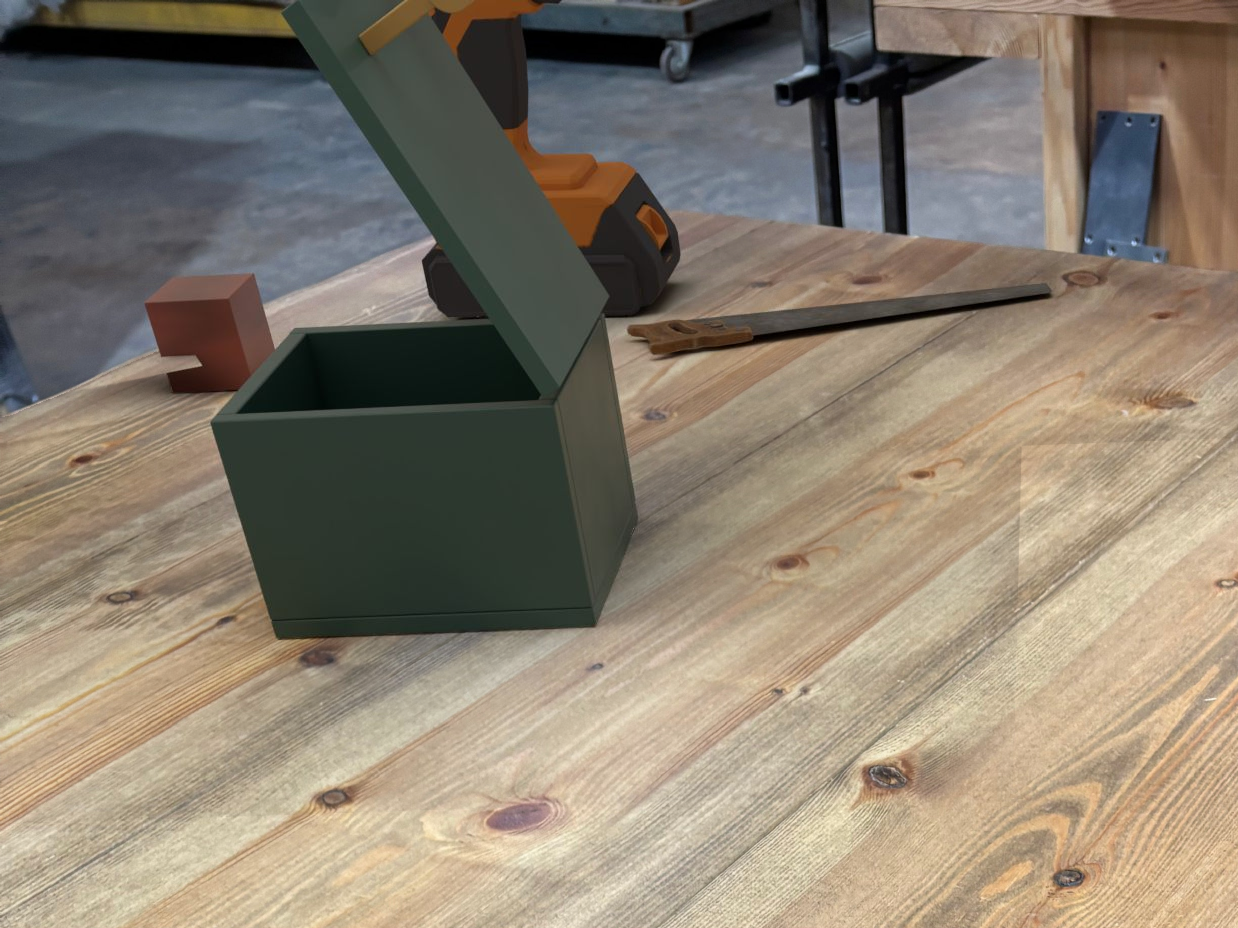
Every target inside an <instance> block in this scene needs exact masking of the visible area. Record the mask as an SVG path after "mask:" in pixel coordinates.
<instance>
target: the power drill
mask: <svg viewBox="0 0 1238 928" xmlns="http://www.w3.org/2000/svg"><path fill="white" fill-rule="evenodd" d="M562 1H563V0H475V1H473V2H472V3H471V4H470V5H469V6H468V7H467V8H465V9H464V10H463V11H461V12H459V13H453V14H451V13H445V12H443V11H441V10H439V9H437V8H436V7H435V8H434V9H433V10H431V11H430V12H429V15H430V16H431V18H432V20H433V21H434V23H435V24H436V26H437V27H438V29H439V31H440V32H441V34H442V35H443V37H444V38H445V40H446V41H447V43H448V45H449V46H450V48H451V49H452V51H453V52H454V54H455V56H456V57H457V59H458V60H459V62H460V63H461V65H462V66H463V68H464V70H465V71H466V73H467V74H468V76H469V77H470V79H471V81H472V82H473V84H474V85H475V87H476V88H477V90H478V91H479V93H480V95H481V96H482V98H483V99H484V101H485V102H486V104H487V106H488V107H489V109H490V110H491V112H492V113H493V115H494V116H495V118H496V120H497V121H498V123H499V124H500V126H501V127H502V129H503V131H504V132H505V134H506V135H507V137H508V138H509V140H510V141H511V143H512V145H513V146H514V148H515V149H516V151H517V152H518V154H519V156H520V157H521V159H522V160H523V162H524V163H525V165H526V166H527V168H528V170H529V171H530V173H531V174H532V176H533V177H534V179H535V181H536V182H537V184H538V185H539V187H540V188H541V190H542V191H543V193H544V195H545V196H546V198H547V199H548V201H549V202H550V204H551V206H552V207H553V209H554V210H555V212H556V213H557V215H558V216H559V218H560V220H561V221H562V223H563V224H564V226H565V227H566V229H567V231H568V232H569V234H570V235H571V237H572V238H573V240H574V241H575V243H576V245H577V246H578V248H579V249H580V251H581V252H582V254H583V256H584V257H585V259H586V260H587V262H588V263H589V265H590V266H591V268H592V270H593V271H594V273H595V274H596V276H597V277H598V279H599V281H600V282H601V284H602V285H603V287H604V288H605V290H606V291H607V293H608V295H609V298H608V300H607V302H606V304H605V305H604V307H603V309H602V311H601V313H604V315H605V317H632V316H633V315H635V314H637V313H638V312H639V311H640V309H641V307H646V306H651V305H652V304H653V303H655V301H656V300H658V298H659V296H660V294H661V293H662V291H663V289H664V288H665V286H666V285H667V283H668V281H669V279H670V278H671V276H672V274H673V273H674V271H675V269H676V268H677V265H678V264H679V263H680V260H681V254H682V252H681V247H680V238H679V232H678V229H677V226H676V224H675V223H674V221H673V220H672V218H671V217H670V215H669V214H668V213H667V211H666V210H665V209H664V207H663V205H662V204H661V202H660V201H659V200H658V199H657V197H656V195H654V193H653V191H652V190H651V188H650V186H648V183H646V181H645V180H644V179H643V177H642V175H641V174H640V173H639V172H638V171H637V170H636V169H635V168H634V167H633V166H631V164H628V163H625V162H623V161H597V159H596V157H594V155H592V154H590V153H540V152H538V151H537V150H536V149H535V148H534V147H533V145H532V144H531V142H530V139H529V134H528V129H529V126H528V125H529V77H528V75H529V74H528V58H527V50H526V44H525V38H524V31H523V25H522V15H526V14H527V15H528V14H529V15H531V14H536V13H538V12H539V11H540V10H541V9H542V8H543V7H544V6H545V5H546V4H552V5H553V4H554V5H559V4H560V3H561V2H562ZM433 239H434V241H435V244H434V245H433V246H432V248H431V249H430V250H428V252H427V253H426V254H425V256H423V258H422V259H421V265H422V270H423V274H424V279H425V280H424V281H425V285H426V289H427V295H428V297H429V298H430V299H431V301H432V302H433V303H434V304H435V305H436V310H438V311H439V312H440V313H441V314H442V315H444V316H445V317H447V318H449V319H450V318H451V317H458V318H482V317H481V316H484V317H483V318H489V317H488V316H487V315H486V313H485V312H484V310H483V309H482V307H481V306H480V304H479V303H478V301H477V300H476V298H475V297H474V295H473V294H472V293H471V291H470V290H469V288H468V287H467V285H466V284H465V282H464V281H463V279H462V278H461V276H460V275H459V274H458V272H457V271H456V269H455V268H454V266H453V265H452V263H451V262H450V260H449V259H448V257H447V256H446V254H445V253H444V252H443V250H442V249H441V247H440V246H439V244H438V243H437V241H436V240H435V238H434V237H433ZM625 315H627V316H625ZM477 316H479V317H477ZM451 319H452V318H451Z"/></svg>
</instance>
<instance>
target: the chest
mask: <svg viewBox="0 0 1238 928" xmlns="http://www.w3.org/2000/svg"><path fill="white" fill-rule="evenodd" d="M606 321H607V320H606V316H605V315H604V313H600V315H599V316H598V318H597V320H596V322H595V324H594V326H593V327H592V329H591V331H590V333H589V335H588V337H587V338H586V340H585V342H584V344H583V346H582V347H581V349H580V351H579V353H578V355H577V357H576V358H575V360H574V362H573V364H572V366H571V368H570V369H569V371H568V373H567V375H566V377H565V379H564V380H563V382H562V384H561V386H560V388H559V389H557V390H556V391H554V392H553V393H551V394H550V395H548V396H546V397H545V398H543V397H542V395H541V394H540V392H539V391H538V389H537V388H536V386H535V385H534V383H533V382H532V380H531V379H530V378H529V376H528V375H527V373H526V372H525V370H524V369H523V367H522V366H521V364H520V363H519V361H518V360H517V358H516V357H515V356H514V354H513V353H512V351H511V350H510V348H509V347H508V345H507V344H506V342H505V341H504V339H503V338H502V337H501V335H500V334H499V332H498V331H497V329H496V328H495V326H494V325H493V323H492V322H491V320H490V319H489V318H474V319H473V318H472V319H454V320H453V319H451V320H433V321H432V320H431V321H413V322H412V321H411V322H389V323H371V324H352V325H351V324H349V325H331V326H329V325H328V326H309V327H306V326H305V327H294V328H293V329H292V330H291V331H290V332H289V333H288V335H286V336H285V338H284V339H283V340H282V341H281V342H280V344H278V345H277V346H276V348H275V350H274V351H273V352H272V354H271V355H270V356H269V357H268V358H267V359H266V360H265V361H264V362H263V364H262V365H261V366H260V367H259V368H258V369H257V370H256V371H255V372H254V373H253V375H252V376H251V377H250V378H249V379H248V380H247V381H246V382H245V383H244V385H243V386H242V387H241V388H240V389H239V390H236V392H235V393H234V394H233V396H231V397H230V399H229V400H228V401H227V402H226V403H225V404H224V406H222V408H220V410H219V411H218V412H217V413H216V415H214V417H213V418H212V419H211V420H210V421H209V424H210V427H211V431H212V434H213V437H214V440H215V443H216V447H217V450H218V453H219V456H220V457H219V458H220V460H221V463H222V468H223V470H224V473H225V476H226V480H227V482H228V486H229V489H230V493H231V495H232V499H233V502H234V506H235V509H236V512H237V515H238V519H239V522H240V526H241V529H242V531H243V536H244V538H245V541H246V545H247V548H248V552H249V555H250V559H251V562H252V565H253V569H254V571H255V574H256V577H257V581H258V585H259V587H260V588H259V589H260V591H261V594H262V597H263V599H264V600H263V601H264V604H265V607H266V610H267V614H268V616H269V619H270V621H271V622H270V623H271V627H272V629H273V633H274V636H275V639H297V638H299V639H300V638H321V637H322V638H323V637H324V638H325V637H326V638H327V637H349V636H371V635H373V636H375V635H399V634H425V633H449V632H452V633H453V632H473V631H474V632H475V631H503V630H527V629H552V628H553V629H554V628H575V627H576V628H578V627H595V626H596V625H597V622H598V620H599V617H600V615H601V614H602V611H603V608H604V605H605V602H606V600H607V597H608V595H609V592H610V590H611V588H612V585H613V583H614V580H615V578H616V576H617V573H618V570H619V568H620V565H621V564H622V560H623V558H624V555H625V553H626V550H627V548H628V545H629V543H628V542H630V540H631V538H630V536H631V537H632V535H631V533H632V530H633V528H634V526H635V527H636V525H637V523H636V521H637V522H638V520H637V518H638V519H639V514H638V507H637V503H636V501H637V500H636V494H635V488H634V483H633V476H632V471H631V465H630V458H629V453H628V448H627V447H628V446H627V441H626V434H625V428H624V423H623V417H622V412H621V404H620V398H619V392H618V387H617V380H616V375H615V368H614V364H613V357H612V356H613V355H612V351H611V345H610V339H609V334H608V333H609V332H608V327H607V322H606ZM635 524H636V525H635ZM634 529H635V528H634ZM633 531H634V530H633ZM632 534H633V533H632ZM626 547H627V548H626Z"/></svg>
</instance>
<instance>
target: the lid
mask: <svg viewBox="0 0 1238 928" xmlns="http://www.w3.org/2000/svg"><path fill="white" fill-rule="evenodd" d="M473 1H475V0H294V1H293V2H292V3H290V4H289V5H287V6H286V7H285V8H284V9H282V10H281V11H280V14H281V16H282V17H283V19H284V20H285V22H286V23H287V24H288V26H289V28H290V29H291V30H292V32H293V33H294V35H295V37H296V38H297V40H298V41H299V42H300V43H301V45H302V47H303V48H304V50H305V51H306V52H307V54H308V55H309V57H310V58H311V59H312V61H313V63H314V65H315V66H316V67H317V69H318V70H319V72H320V73H321V74H322V76H323V78H324V79H325V80H326V81H327V83H328V85H329V86H330V88H331V89H332V90H333V93H335V95H336V96H337V98H338V99H339V101H340V102H341V103H342V105H343V106H344V108H345V110H346V111H347V112H348V114H349V116H350V117H351V118H352V120H353V121H354V123H355V124H356V126H357V127H358V129H359V130H360V132H361V133H362V134H363V136H364V138H365V139H366V140H367V142H368V143H369V145H370V146H371V148H372V149H373V150H374V152H375V153H376V155H377V156H378V158H379V159H380V161H381V162H382V164H383V166H384V167H385V168H386V170H387V171H388V173H389V174H390V176H391V177H392V179H393V180H394V181H395V182H396V184H397V186H398V187H399V189H400V190H401V192H402V193H403V194H404V196H405V197H406V199H407V201H408V202H409V203H410V205H411V206H412V207H413V209H414V210H415V212H416V214H417V215H418V216H419V218H420V219H421V221H422V223H423V224H424V226H425V227H426V229H428V231H429V232H430V234H431V236H432V237H433V239H434V238H435V239H434V241H435V240H436V241H437V243H438V244H439V246H440V247H441V249H442V250H443V252H444V253H445V254H446V256H447V257H448V259H449V260H450V262H451V263H452V265H453V266H454V268H455V269H456V271H457V272H458V274H459V275H460V276H461V278H462V279H463V281H464V282H465V284H466V285H467V287H468V288H469V290H470V291H471V293H472V294H473V295H474V297H475V298H476V300H477V301H478V303H479V304H480V306H481V307H482V309H483V310H484V312H485V313H486V315H487V316H488V317H487V318H488V319H490V320H491V322H492V323H493V325H494V326H495V328H496V329H497V331H498V332H499V334H500V335H501V337H502V338H503V339H504V341H505V342H506V344H507V345H508V347H509V348H510V350H511V351H512V353H513V354H514V356H515V357H516V358H517V360H518V361H519V363H520V364H521V366H522V367H523V369H524V370H525V372H526V373H527V375H528V376H529V378H530V379H531V380H532V382H533V383H534V385H535V386H536V388H537V389H538V391H539V392H540V394H541V395H542V397H543V398H545V397H546V396H548V395H550V394H551V393H553V392H554V391H556V390H557V389H559V388H560V386H561V384H562V382H563V380H564V379H565V377H566V375H567V373H568V371H569V369H570V368H571V366H572V364H573V362H574V360H575V358H576V357H577V355H578V353H579V351H580V349H581V347H582V346H583V344H584V342H585V340H586V338H587V337H588V335H589V333H590V331H591V329H592V327H593V326H594V324H595V322H596V320H597V318H598V316H599V315H600V313H601V311H602V309H603V307H604V305H605V304H606V302H607V300H608V298H609V295H608V293H607V291H606V290H605V288H604V287H603V285H602V284H601V282H600V281H599V279H598V277H597V276H596V274H595V273H594V271H593V270H592V268H591V266H590V265H589V263H588V262H587V260H586V259H585V257H584V256H583V254H582V252H581V251H580V249H579V248H578V246H577V245H576V243H575V241H574V240H573V238H572V237H571V235H570V234H569V232H568V231H567V229H566V227H565V226H564V224H563V223H562V221H561V220H560V218H559V216H558V215H557V213H556V212H555V210H554V209H553V207H552V206H551V204H550V202H549V201H548V199H547V198H546V196H545V195H544V193H543V191H542V190H541V188H540V187H539V185H538V184H537V182H536V181H535V179H534V177H533V176H532V174H531V173H530V171H529V170H528V168H527V166H526V165H525V163H524V162H523V160H522V159H521V157H520V156H519V154H518V152H517V151H516V149H515V148H514V146H513V145H512V143H511V141H510V140H509V138H508V137H507V135H506V134H505V132H504V131H503V129H502V127H501V126H500V124H499V123H498V121H497V120H496V118H495V116H494V115H493V113H492V112H491V110H490V109H489V107H488V106H487V104H486V102H485V101H484V99H483V98H482V96H481V95H480V93H479V91H478V90H477V88H476V87H475V85H474V84H473V82H472V81H471V79H470V77H469V76H468V74H467V73H466V71H465V70H464V68H463V66H462V65H461V63H460V62H459V60H458V59H457V57H456V56H455V54H454V52H453V51H452V49H451V48H450V46H449V45H448V43H447V41H446V40H445V38H444V37H443V35H442V34H441V32H440V31H439V29H438V27H437V26H436V24H435V23H434V21H433V20H432V18H431V16H430V15H429V12H430V11H431V10H433V9H434V8H435V7H436V8H437V9H439V10H441V11H443V12H445V13H451V14H453V13H459V12H461V11H463V10H464V9H465V8H467V7H468V6H469V5H470V4H471V3H472V2H473ZM436 241H435V242H436Z"/></svg>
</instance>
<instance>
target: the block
mask: <svg viewBox="0 0 1238 928" xmlns="http://www.w3.org/2000/svg"><path fill="white" fill-rule="evenodd" d="M144 308H145V310H146V313H147V317H148V321H149V323H150V326H151V329H152V332H153V335H154V339H155V343H156V345H157V349H158V352H159V355H160V357H161V358H164V357H165V358H166V357H184V356H185V357H186V356H187V357H188V356H195V357H196V358H197V360H198V361H199V363H200V366H199V365H198V366H195V367H189V368H184V369H179V370H173V371H168V372H166V373H165V374H166V377H167V380H168V383H169V387H170V390H171V392H172V393H173V394H181V393H203V392H223V391H224V392H226V391H228V392H229V391H238V390H239V389H240V388H241V387H242V386H243V385H244V383H245V382H246V381H247V380H248V379H249V378H250V377H251V376H252V375H253V373H254V372H255V371H256V370H257V369H258V368H259V367H260V366H261V365H262V364H263V362H264V361H265V360H266V359H267V358H268V357H269V356H270V355H271V354H272V352H273V351H274V350H275V349H276V348H275V343H274V339H273V336H272V333H271V329H270V326H269V322H268V318H267V315H266V312H265V307H264V305H263V301H262V297H261V293H260V289H259V286H258V282H257V279H256V275H255V273H253V272H250V273H231V274H230V273H229V274H213V275H212V274H210V275H208V274H207V275H194V276H193V275H192V276H173V277H171V278H170V279H169V280H168V281H167V282H165V284H163V285H162V286H161V287H159V289H158V290H157V291H155V292H154V293H153V294H152V295H151V296H150V297H149V298H147V300H145V301H144Z"/></svg>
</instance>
